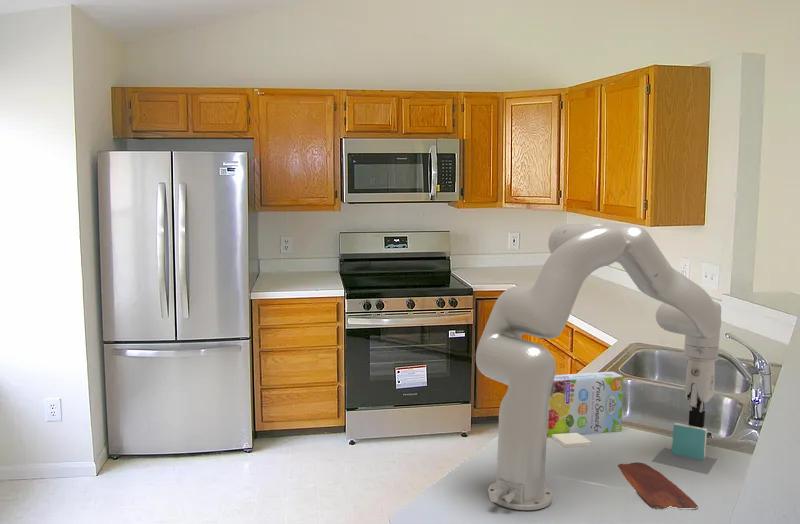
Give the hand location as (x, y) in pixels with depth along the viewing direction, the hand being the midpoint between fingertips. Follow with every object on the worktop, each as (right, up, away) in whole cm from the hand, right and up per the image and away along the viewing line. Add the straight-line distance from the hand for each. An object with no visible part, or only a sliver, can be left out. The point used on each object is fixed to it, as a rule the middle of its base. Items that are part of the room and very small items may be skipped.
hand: (696, 426), depth 171 cm
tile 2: (-4, -6, -5) cm, 8 cm away
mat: (-6, -6, -7) cm, 11 cm away
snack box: (-25, -4, +11) cm, 28 cm away
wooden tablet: (-18, -8, -19) cm, 28 cm away
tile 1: (-29, -5, +3) cm, 30 cm away
